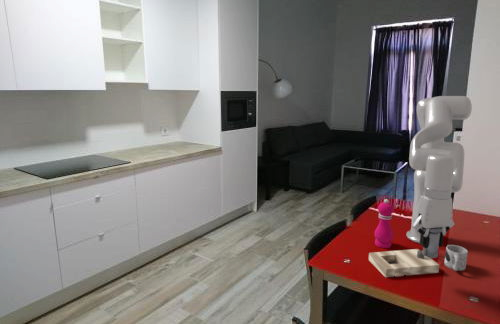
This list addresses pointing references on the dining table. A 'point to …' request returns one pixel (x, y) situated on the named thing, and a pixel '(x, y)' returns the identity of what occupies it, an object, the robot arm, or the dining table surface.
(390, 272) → the jig
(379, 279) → the dining table surface
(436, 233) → the silver domed cylinder
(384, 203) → the pepper mill
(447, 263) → the mug
